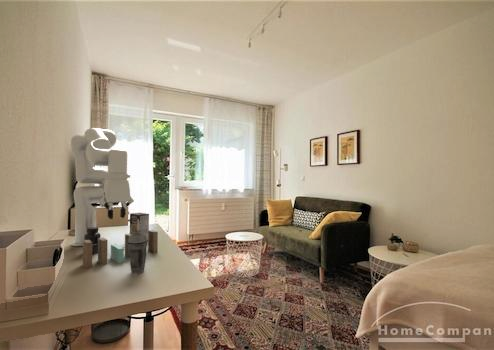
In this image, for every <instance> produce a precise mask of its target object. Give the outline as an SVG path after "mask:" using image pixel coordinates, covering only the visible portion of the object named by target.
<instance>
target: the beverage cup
mask: <svg viewBox="0 0 494 350" xmlns="http://www.w3.org/2000/svg"><path fill="white" fill-rule="evenodd" d="M128 247H129V253H130V259H129V262H130V273H131V274H132V275H133V274H134V275H137V274H138V275H139V274H142V273H144V271H145V267H146V258H147V257H146V256H147V249H148V248H147V247H148V237H147V235H146V234H145V233H144V232H143V231H139V219H137V231H135V232H133V233H132V234H131V235H130V237H129V239H128Z"/></svg>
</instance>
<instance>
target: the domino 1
mask: <svg viewBox="0 0 494 350" xmlns="http://www.w3.org/2000/svg"><path fill="white" fill-rule="evenodd" d="M82 266H83V267H84V268H85V269H90V268H92V267H93V254H92V242H91V241H90V240H84V241H83V246H82Z"/></svg>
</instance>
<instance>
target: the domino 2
mask: <svg viewBox="0 0 494 350" xmlns="http://www.w3.org/2000/svg"><path fill="white" fill-rule="evenodd" d="M108 241H109V240H108V239H107V238H105V237H100V238H98V253H97V262H98V263H99V264H100V265H101V266H102V265H107V264H108Z"/></svg>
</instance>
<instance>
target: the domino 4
mask: <svg viewBox="0 0 494 350" xmlns="http://www.w3.org/2000/svg"><path fill="white" fill-rule="evenodd" d="M158 234H159V232H158V231H157V230H155V229H154V230H153V229H150V230H149V231H148V244H147V247H148V248H147V250H148V252H150V253H153V254H155V253H158V250H159V249H158V245H159V244H158V243H159V241H158V240H159V239H158V237H159V235H158Z"/></svg>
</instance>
